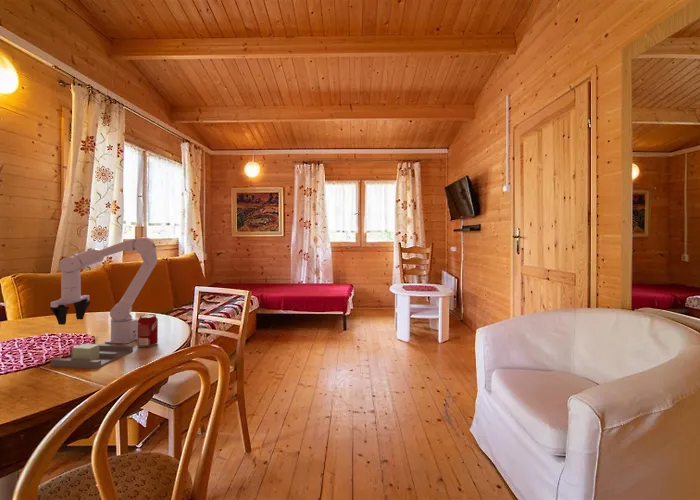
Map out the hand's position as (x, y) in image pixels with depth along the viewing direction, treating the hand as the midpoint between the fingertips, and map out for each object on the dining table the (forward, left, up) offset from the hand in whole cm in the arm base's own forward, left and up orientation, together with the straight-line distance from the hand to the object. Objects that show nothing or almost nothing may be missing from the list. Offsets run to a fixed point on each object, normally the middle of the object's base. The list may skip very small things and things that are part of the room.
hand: (71, 321), depth 124 cm
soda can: (-28, -4, -10) cm, 30 cm away
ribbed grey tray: (-19, +11, -9) cm, 24 cm away
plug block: (-19, +15, -9) cm, 26 cm away
